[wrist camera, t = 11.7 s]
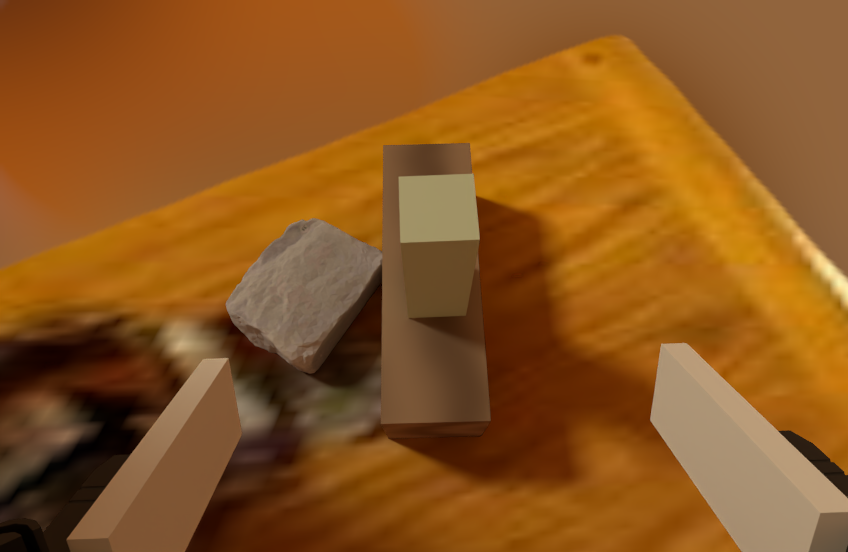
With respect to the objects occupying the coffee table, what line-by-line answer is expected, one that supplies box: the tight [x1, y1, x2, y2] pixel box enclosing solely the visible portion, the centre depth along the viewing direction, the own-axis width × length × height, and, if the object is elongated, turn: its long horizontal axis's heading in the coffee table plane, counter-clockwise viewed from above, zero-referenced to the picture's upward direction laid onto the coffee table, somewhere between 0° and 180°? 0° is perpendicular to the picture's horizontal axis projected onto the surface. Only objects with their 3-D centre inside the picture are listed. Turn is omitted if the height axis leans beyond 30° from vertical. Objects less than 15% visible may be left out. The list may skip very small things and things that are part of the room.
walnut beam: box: [381, 143, 491, 439], centre depth 41 cm, size 7×22×7 cm, turn 1°
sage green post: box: [399, 174, 480, 318], centre depth 32 cm, size 4×4×11 cm
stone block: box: [226, 218, 382, 374], centre depth 44 cm, size 12×5×10 cm
